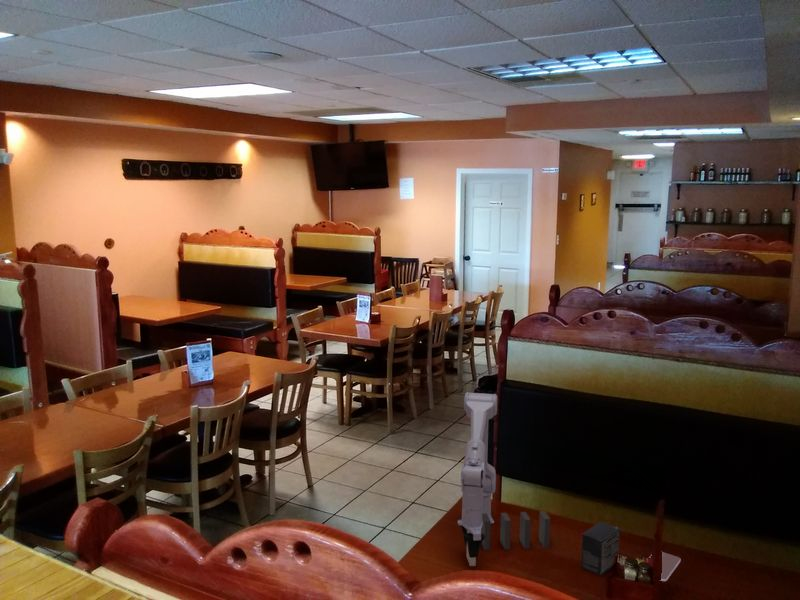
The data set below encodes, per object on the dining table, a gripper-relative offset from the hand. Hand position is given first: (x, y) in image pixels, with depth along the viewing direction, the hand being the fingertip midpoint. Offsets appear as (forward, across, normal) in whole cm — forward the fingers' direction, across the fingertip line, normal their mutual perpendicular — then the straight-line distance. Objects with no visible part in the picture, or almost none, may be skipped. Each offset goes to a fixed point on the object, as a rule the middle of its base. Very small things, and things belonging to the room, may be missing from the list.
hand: (471, 551), depth 186 cm
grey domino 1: (+3, -8, +6) cm, 10 cm away
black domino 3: (+3, -8, +12) cm, 15 cm away
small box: (+3, +5, +36) cm, 36 cm away
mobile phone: (+3, +7, +53) cm, 53 cm away
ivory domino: (+3, 0, 0) cm, 3 cm away
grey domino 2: (+3, -8, +18) cm, 20 cm away
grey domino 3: (+3, -8, +24) cm, 25 cm away
